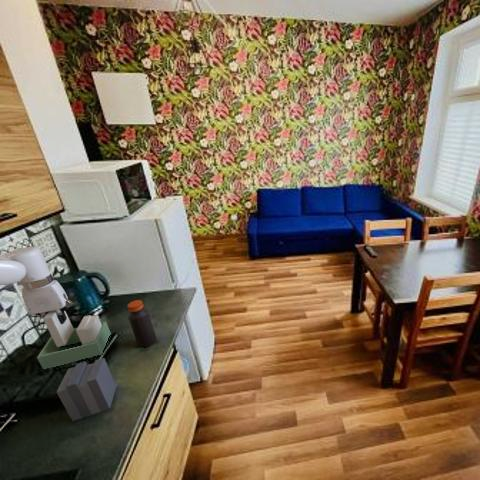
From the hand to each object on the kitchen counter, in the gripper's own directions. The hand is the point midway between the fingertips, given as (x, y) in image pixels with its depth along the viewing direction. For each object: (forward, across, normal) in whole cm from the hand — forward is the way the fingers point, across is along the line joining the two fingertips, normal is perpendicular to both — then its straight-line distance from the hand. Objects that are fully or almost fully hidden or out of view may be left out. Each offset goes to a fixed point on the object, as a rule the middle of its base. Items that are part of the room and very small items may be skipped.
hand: (58, 322), depth 101 cm
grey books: (+16, +14, -29) cm, 36 cm away
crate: (+16, +2, 0) cm, 16 cm away
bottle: (+16, +26, -5) cm, 31 cm away
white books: (+15, +8, 0) cm, 17 cm away
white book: (+8, 0, 0) cm, 8 cm away
